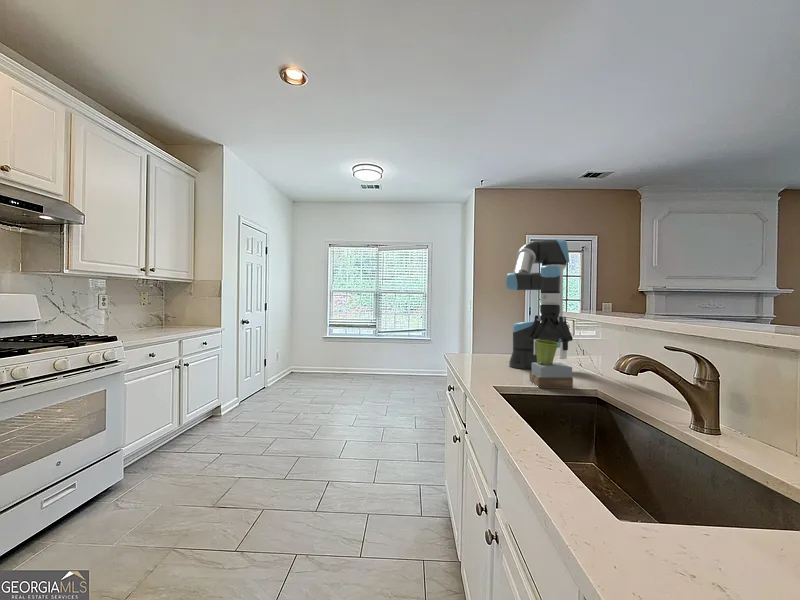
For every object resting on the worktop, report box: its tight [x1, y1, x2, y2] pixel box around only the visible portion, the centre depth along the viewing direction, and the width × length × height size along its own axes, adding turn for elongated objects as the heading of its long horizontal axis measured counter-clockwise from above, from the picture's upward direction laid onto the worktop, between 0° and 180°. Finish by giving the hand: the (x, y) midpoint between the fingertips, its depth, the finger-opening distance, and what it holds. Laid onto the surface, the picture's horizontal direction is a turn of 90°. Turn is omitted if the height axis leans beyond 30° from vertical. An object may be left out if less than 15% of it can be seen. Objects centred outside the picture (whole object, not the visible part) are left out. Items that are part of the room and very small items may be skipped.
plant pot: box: [535, 340, 559, 365], centre depth 169 cm, size 9×9×9 cm
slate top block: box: [531, 362, 573, 378], centre depth 167 cm, size 12×12×4 cm
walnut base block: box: [529, 371, 574, 389], centre depth 167 cm, size 13×13×4 cm
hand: (549, 356), depth 167 cm, fingers open, 13 cm apart
